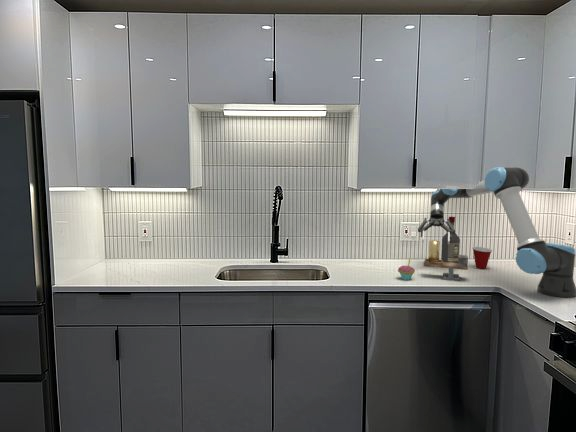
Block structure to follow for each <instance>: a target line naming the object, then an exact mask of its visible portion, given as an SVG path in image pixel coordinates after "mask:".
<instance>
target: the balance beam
mask: <svg viewBox="0 0 576 432" xmlns="http://www.w3.org/2000/svg"><path fill="white" fill-rule="evenodd" d="M422 265H423V266H422V267H424V268H425V267H426V268H436V269H437V268H439V269H448V270H449V266H454V270H461V271H462V270H463V271H468V270H469V266H468V265H469V257H468V255H467V254H466V255H465V254H459V255H458V263H448V262H443V260H441V259H439V262H428V258H424V261H423V263H422Z"/></svg>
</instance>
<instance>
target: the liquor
mask: <svg viewBox="0 0 576 432" xmlns="http://www.w3.org/2000/svg"><path fill="white" fill-rule="evenodd" d="M448 219H449V221H450V223H451V225H452V226H453V228H454V229H455V223H456V216H448ZM448 228H449V227H448ZM449 229H450V228H449ZM460 245H461V238H460V237H459V235H458V234H457V233H456V232H455V234H452V238H451V239H450V242H449V244H448V232H447V231H446V233H445V234H444V235H443V236H442V238H441V254H440V255H441V257H440V260H443V262H448V263H449V262H453V263H458V255H460V247H461V246H460Z"/></svg>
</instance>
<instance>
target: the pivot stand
mask: <svg viewBox="0 0 576 432" xmlns="http://www.w3.org/2000/svg"><path fill="white" fill-rule="evenodd" d="M449 263H453V262H449ZM454 270H455V269H454V266H449V269H448V272H443V273H442V280H443V281H445V280H446V281H452V280H454V281H455V282H460V274H459V273H455V271H454ZM454 281H453V282H454Z"/></svg>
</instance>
